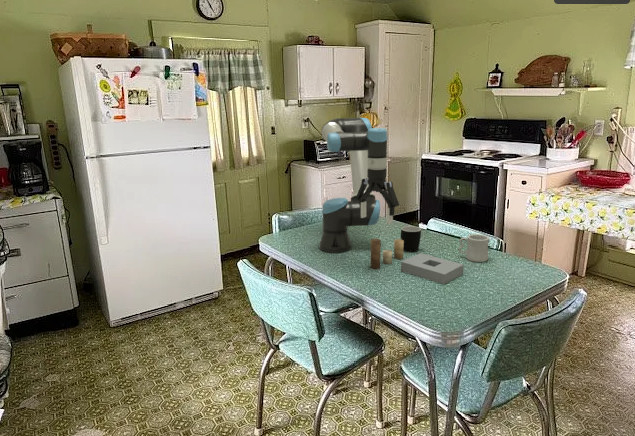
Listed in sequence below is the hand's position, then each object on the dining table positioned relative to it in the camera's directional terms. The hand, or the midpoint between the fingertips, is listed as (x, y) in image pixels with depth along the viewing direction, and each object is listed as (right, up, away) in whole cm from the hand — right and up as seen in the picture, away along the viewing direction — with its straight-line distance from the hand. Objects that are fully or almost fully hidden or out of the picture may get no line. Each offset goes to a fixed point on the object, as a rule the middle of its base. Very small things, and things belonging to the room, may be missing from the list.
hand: (376, 220), depth 186 cm
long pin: (0, -20, +5) cm, 21 cm away
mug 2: (+44, -17, +13) cm, 49 cm away
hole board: (+22, -21, -1) cm, 31 cm away
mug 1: (+18, -14, +27) cm, 36 cm away
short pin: (+6, -18, +11) cm, 22 cm away
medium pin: (+12, -17, +16) cm, 26 cm away
